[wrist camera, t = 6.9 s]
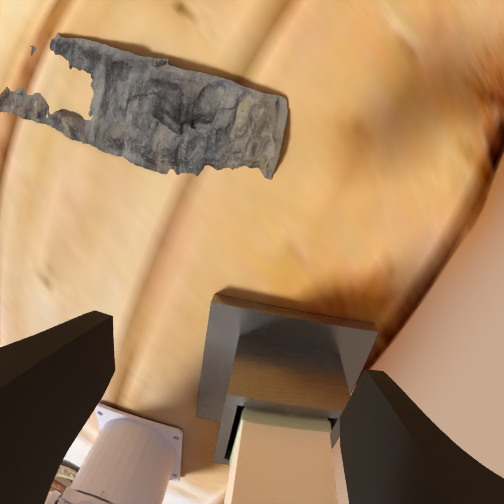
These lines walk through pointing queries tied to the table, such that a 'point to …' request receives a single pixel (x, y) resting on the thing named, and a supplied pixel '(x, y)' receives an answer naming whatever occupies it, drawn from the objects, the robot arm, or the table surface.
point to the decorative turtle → (63, 479)
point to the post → (281, 460)
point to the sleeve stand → (277, 364)
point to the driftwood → (162, 113)
